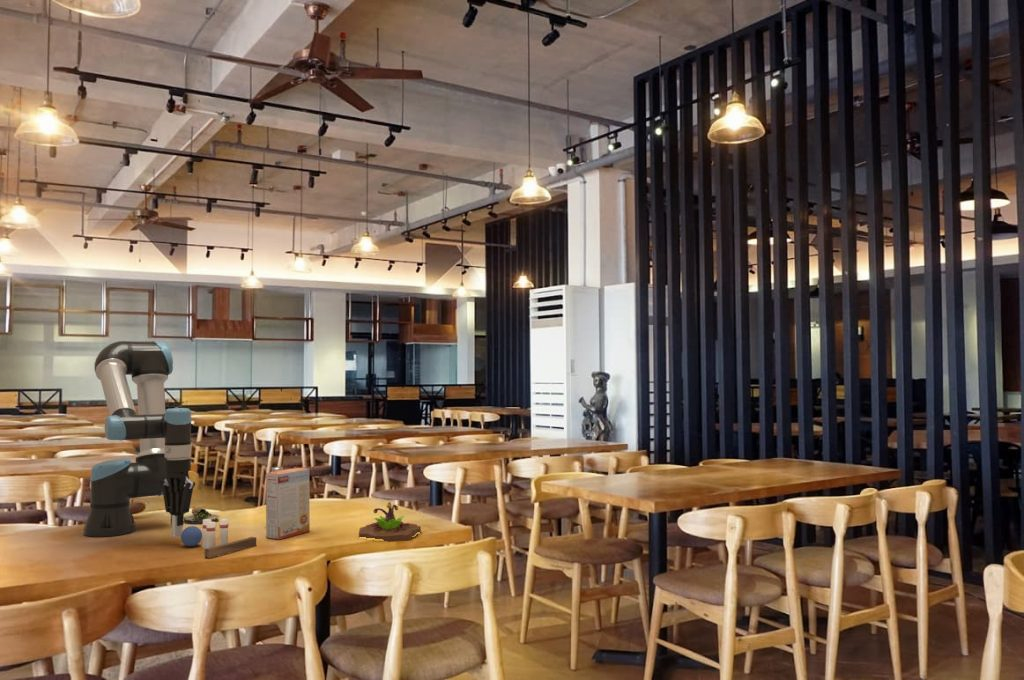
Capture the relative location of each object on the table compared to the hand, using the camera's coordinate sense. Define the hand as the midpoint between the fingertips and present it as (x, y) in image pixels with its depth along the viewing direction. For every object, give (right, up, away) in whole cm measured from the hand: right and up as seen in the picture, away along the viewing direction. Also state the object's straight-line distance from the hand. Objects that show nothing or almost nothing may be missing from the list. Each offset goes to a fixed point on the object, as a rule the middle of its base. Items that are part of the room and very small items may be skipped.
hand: (177, 536), depth 246 cm
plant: (+63, -4, +14) cm, 64 cm away
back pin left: (+16, -2, -5) cm, 17 cm away
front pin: (+11, -2, -5) cm, 12 cm away
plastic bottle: (+23, -4, +27) cm, 35 cm away
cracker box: (+30, -3, +13) cm, 33 cm away
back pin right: (+14, -2, -9) cm, 17 cm away
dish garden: (-6, -4, +36) cm, 37 cm away
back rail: (+20, -2, -9) cm, 22 cm away
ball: (+5, +1, -2) cm, 6 cm away
